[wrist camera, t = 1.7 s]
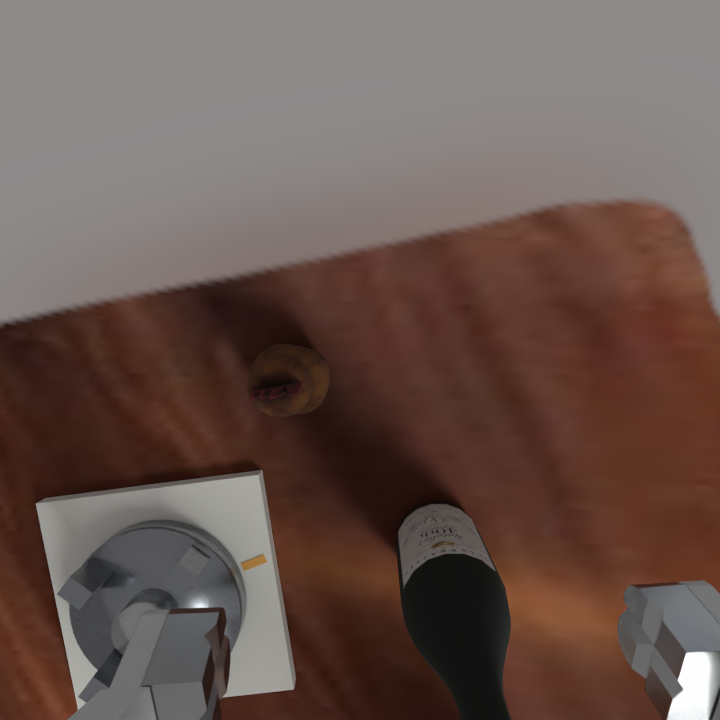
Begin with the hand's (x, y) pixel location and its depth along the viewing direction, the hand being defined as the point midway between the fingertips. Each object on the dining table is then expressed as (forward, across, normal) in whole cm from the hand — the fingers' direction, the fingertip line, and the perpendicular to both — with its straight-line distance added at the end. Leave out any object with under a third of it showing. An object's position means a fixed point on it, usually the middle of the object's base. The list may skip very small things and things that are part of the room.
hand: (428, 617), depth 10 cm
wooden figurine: (+38, -5, -10) cm, 40 cm away
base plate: (+33, -19, -31) cm, 49 cm away
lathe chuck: (+32, -19, -31) cm, 48 cm away
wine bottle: (+33, +8, -26) cm, 42 cm away
